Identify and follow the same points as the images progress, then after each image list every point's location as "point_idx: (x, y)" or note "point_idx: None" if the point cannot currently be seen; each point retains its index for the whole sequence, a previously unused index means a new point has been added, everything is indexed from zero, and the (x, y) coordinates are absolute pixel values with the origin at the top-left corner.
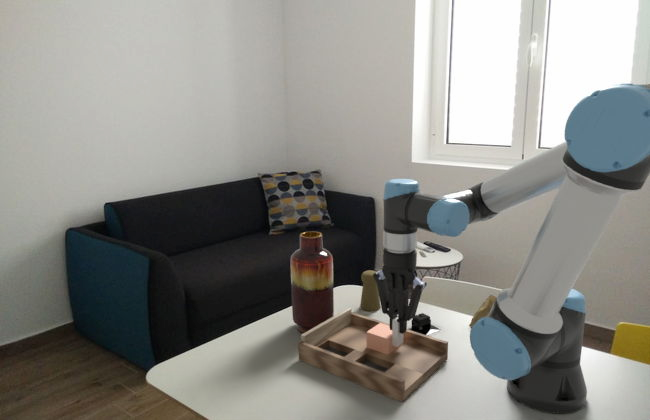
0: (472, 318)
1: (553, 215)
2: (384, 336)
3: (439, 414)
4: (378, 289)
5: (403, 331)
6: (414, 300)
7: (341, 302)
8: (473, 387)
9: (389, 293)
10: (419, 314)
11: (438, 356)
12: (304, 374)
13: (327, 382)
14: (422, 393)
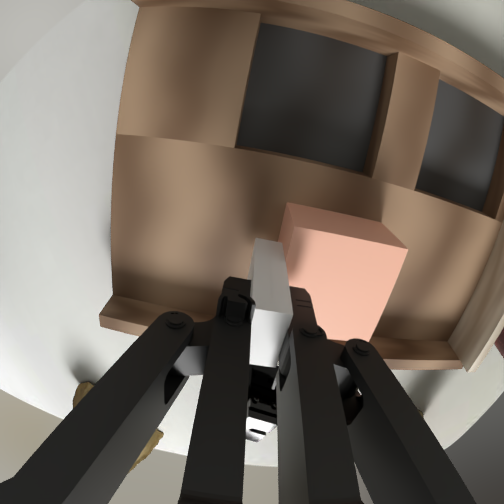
0: (153, 446)
1: None
2: (319, 243)
3: (55, 25)
4: (451, 469)
5: (224, 282)
6: (61, 429)
7: (459, 408)
8: (24, 187)
9: (352, 478)
10: (262, 435)
11: (121, 268)
12: (481, 43)
13: (414, 12)
14: (112, 75)
